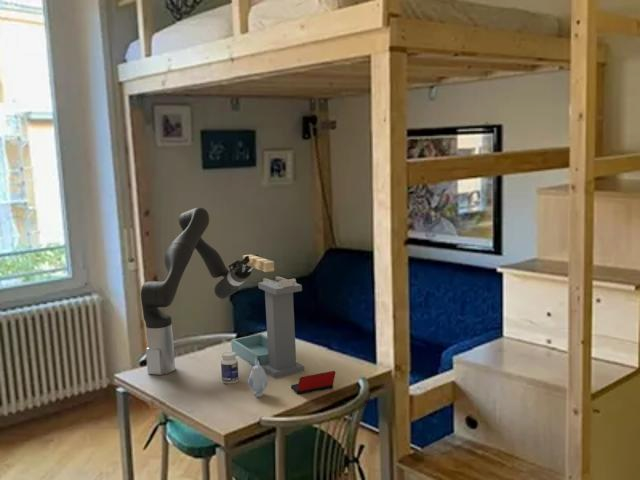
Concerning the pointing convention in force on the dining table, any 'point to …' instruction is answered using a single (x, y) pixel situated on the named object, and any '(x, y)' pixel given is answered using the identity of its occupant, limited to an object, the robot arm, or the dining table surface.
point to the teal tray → (252, 349)
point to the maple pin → (260, 263)
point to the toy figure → (258, 379)
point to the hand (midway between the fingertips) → (253, 257)
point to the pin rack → (280, 326)
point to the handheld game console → (314, 383)
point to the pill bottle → (229, 368)
